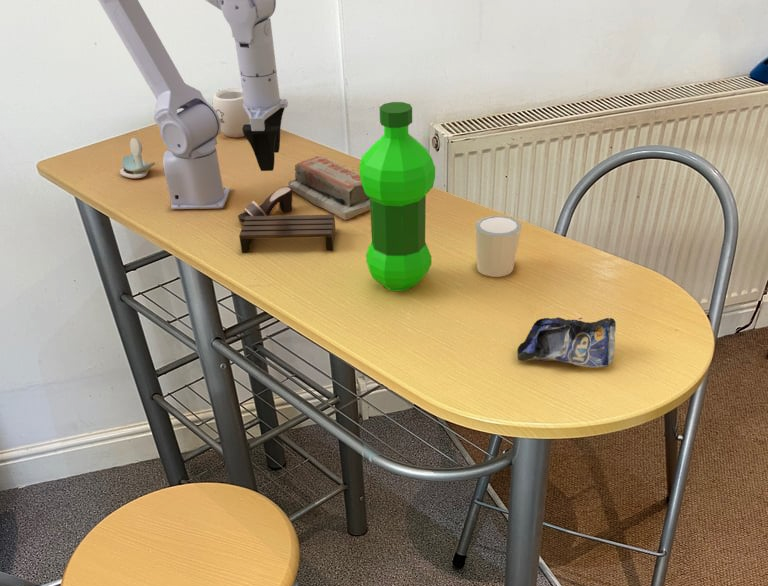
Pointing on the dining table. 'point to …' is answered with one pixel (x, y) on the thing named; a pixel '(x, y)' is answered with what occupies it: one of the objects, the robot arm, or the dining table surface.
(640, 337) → the dining table surface
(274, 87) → the robot arm
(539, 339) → the snack package
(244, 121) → the mug
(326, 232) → the slatted bench
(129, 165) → the pacifier
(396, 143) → the plastic bottle
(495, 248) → the shot glass
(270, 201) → the heeled mule
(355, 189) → the packaged product
